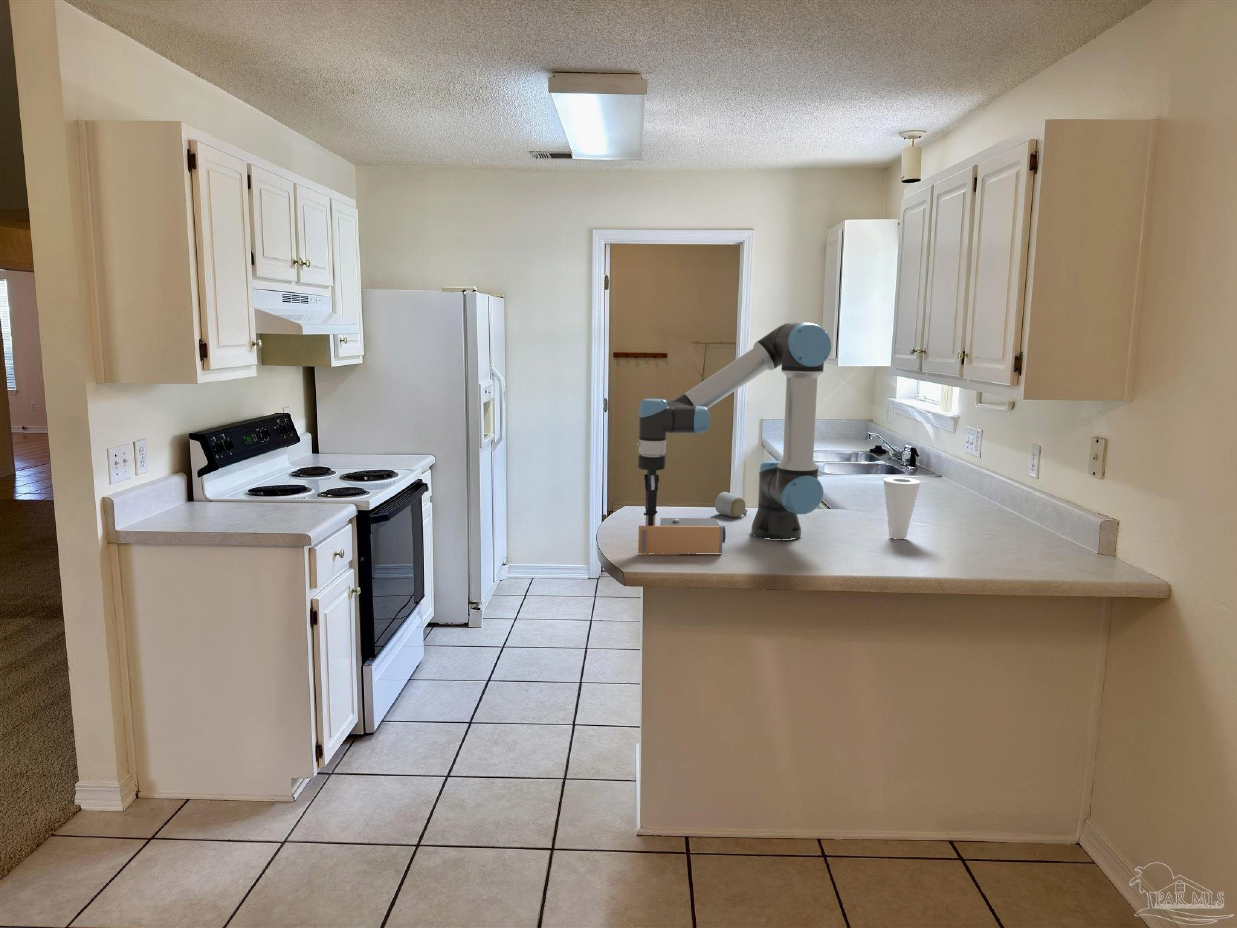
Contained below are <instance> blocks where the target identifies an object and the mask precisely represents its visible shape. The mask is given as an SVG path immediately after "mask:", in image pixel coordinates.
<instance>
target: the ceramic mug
mask: <svg viewBox="0 0 1237 928" xmlns="http://www.w3.org/2000/svg"><path fill="white" fill-rule="evenodd" d="M714 509H715V511H716V512H717V513H718V514H720V515H723V516H728V517H731V518H735V519H736V518H740V517H742V515H747V513H748V509H746V501H745V500H744V499H743V498H742V497H741V496H739V495H736V494H733V493H730V492H728V491H722V492H720V493H719V494H718V495H717V497H715V501H714Z"/></svg>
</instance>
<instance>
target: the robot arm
mask: <svg viewBox="0 0 1237 928" xmlns="http://www.w3.org/2000/svg"><path fill="white" fill-rule="evenodd" d="M831 350H832V341H831V337H830V335H829V333H828V332H827V331H826V329H824V328H823V327H822V326H820V325H818V324H815V323H812V322H787V323H784V324H782V325H780V326H778V327H776V328H775V329H774V330H771V331H770V332H769V333H767V334H766V335H764V336H763V337H762V338H760V339H759V340H757V341H756V342H754V344H753V347H752V348H751V349H750V350H748V351H747V352H745V353H744V354H742V355H741V356H739V357H738V358H736V359H735V360H733V361H732V362H730V363H729V364H727V365H725V366H724V367H723V368H721V369H719V370H718V371H716V372H715V373H713V374H712V375H710V376H709V377H707V378H706V379H704V380H703V381H701V382H700V383H698V384H696V385H695V386H693V387H692V388H691V389H690V390H688V391H686V392H685V393H683V394H682V395H680V396H678V397H677V398H675V399H671V400H668V401H667V400H666V399H662V398H644V399H642V400H641V401H640V403H639V412H638V413H639V414H638V417H639V418H638V420H639V421H638V423H639V424H638V425H639V426H638V432H639V433H638V435H639V436H638V441H639V442H636V446H637V447H638V454H639V455H638V456H637V457H638V460H637V461H638V462H637V463H638V464H637V467H638V469H640V470H643V471H646V473H645V474H643V480H644V490H645V506H644V508H645V512H643V516H645V519H644V520H645V522H644V523H645V524H644V526H656V515H657V514H658V510H657V502H658V501H657V500H658V499H657V498H658V497H657V496H658V491H659V490H658V489H659V483H660V476H659V474H657V471H662V470H665V468H666V455H665V454H666V453H667V434H694V435H696V434H700V433H701V434H705V433H706V432H708V430H709V428H710V421H711V419H710V412H709V408H711V407H712V406H714V405H715V404H717V403H719V402H720V401H721V400H723V399H724V398H726V397H728V396H729V395H731V394H733V393H734V392H735V391H737V390H738V389H740V388H741V387H743V386H745V385H746V384H748V383H749V382H751V380H753V379H755V378H756V377H759V375H761V374H763V373H764V372H766V371H774V370H775V369H777V368H778V367H781V372H782V373H783V374H784V376H785V377H786V379H785V380H786V381H785V385H786V386H785V405H784V406H785V407H784V428H783V429H784V430H783V451H782V452H783V455H782V457H783V458H782V460H772V461H768V460H767V461H762V462H761V463H760V466H759V471H758V474H759V475H758V477H759V478H758V479H759V480H758V505H757V511H756V514H755V517H754V518H753V521H752V524H751V528H750V529H751V530H750V531H751V533H752V534H753V535H752V534H751V533H750V534H751V535H752V536H754V535H755V536H754V537H756V538H759V537H761V538H760V539H763V538H770V539H781V540H782V539H791V538H798V537H800V536H802V527H801V524H800V523H801V522H800V520H799V517H798V515H807V514H810V513H812V512H813V511H815V510H816V509H817V508H818V507H819V506H820V505H821V503H822V501H823V497H824V487H823V485H822V483H821V481H820V480H819V465H818V464H817V463H815V460H814V452H815V451H814V450H815V437H816V436H815V434H816V432H815V431H816V413H817V412H816V411H817V396H818V395H817V392H818V391H817V390H818V378H819V377H820V376H821V375H822V373H824V367H825V366H824V365H825V361H826V360H827V359H828V358H829V357H830V354H831ZM800 538H801V537H800ZM798 539H799V538H798ZM781 540H780V541H781Z"/></svg>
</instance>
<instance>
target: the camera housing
mask: <svg viewBox="0 0 1237 928" xmlns="http://www.w3.org/2000/svg"><path fill="white" fill-rule="evenodd" d="M659 521H660V525H659V526H721V525H720V524H719V521H717V519H716V518H715V517H712V518H711V517H704V518H703V517H701V518H700V517H695V518H694V517H660V520H659ZM722 526H723V542H722V544H725V542H726V538H727V537H726V536H727V535H726V533H727V532H726V526H725V525H722Z"/></svg>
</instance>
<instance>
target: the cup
mask: <svg viewBox="0 0 1237 928" xmlns="http://www.w3.org/2000/svg"><path fill="white" fill-rule="evenodd" d="M883 486H884V487H883V488H884V489H883V490H884V496H885V507H886V517H887V528H888V537H891V538H896V539H904V538H906V539H907V535H908V532H909V531H908V530H909V528H910V524H911V519H912V516H913V511H914V508H915V506H916V505H915V503H916V501H917V498H918V497H917V496H918V493H919V488H920V486H921V480H918V479H915V478H911V477H910V478H909V477H902V476H901V477H899V476H889V477H885V478H883ZM891 538H890V539H891Z"/></svg>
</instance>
